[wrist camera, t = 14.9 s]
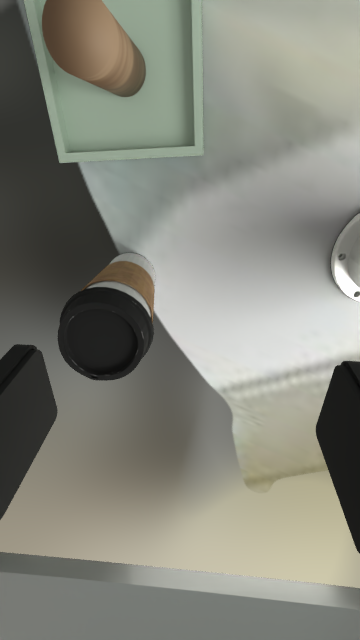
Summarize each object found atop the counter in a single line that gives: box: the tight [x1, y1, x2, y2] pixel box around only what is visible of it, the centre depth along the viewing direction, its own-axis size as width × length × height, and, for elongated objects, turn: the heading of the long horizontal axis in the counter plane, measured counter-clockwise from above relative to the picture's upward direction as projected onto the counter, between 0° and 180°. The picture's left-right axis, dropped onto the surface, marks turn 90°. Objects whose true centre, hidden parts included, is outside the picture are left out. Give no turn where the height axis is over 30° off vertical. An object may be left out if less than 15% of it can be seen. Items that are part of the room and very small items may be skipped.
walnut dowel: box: [42, 0, 146, 97], centre depth 23 cm, size 4×4×12 cm
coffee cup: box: [58, 253, 155, 380], centre depth 33 cm, size 8×8×15 cm
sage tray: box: [24, 0, 203, 163], centre depth 28 cm, size 14×14×2 cm
